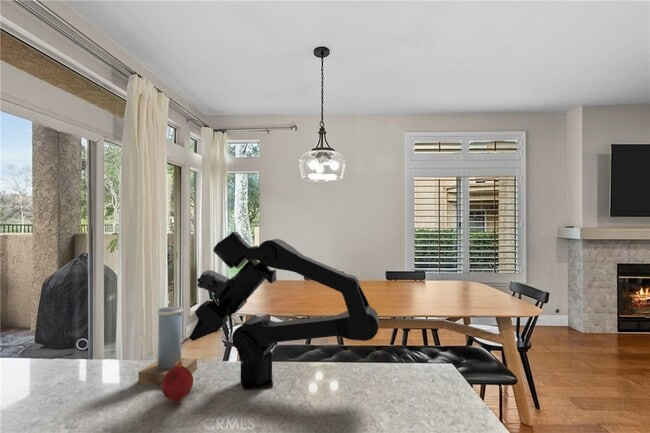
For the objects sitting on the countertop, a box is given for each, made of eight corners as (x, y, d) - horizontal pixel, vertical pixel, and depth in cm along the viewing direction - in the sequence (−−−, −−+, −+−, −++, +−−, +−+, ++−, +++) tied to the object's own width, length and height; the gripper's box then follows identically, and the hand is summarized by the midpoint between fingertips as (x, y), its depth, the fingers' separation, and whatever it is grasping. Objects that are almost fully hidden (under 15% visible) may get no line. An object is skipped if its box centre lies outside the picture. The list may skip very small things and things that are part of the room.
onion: (181, 411, 66) (181, 369, 66) (154, 408, 67) (155, 366, 68) (198, 396, 72) (198, 357, 72) (173, 393, 73) (173, 355, 73)
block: (196, 369, 85) (196, 359, 85) (175, 386, 76) (175, 374, 76) (162, 366, 87) (163, 356, 87) (138, 383, 78) (138, 372, 78)
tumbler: (185, 360, 84) (186, 306, 85) (176, 369, 79) (177, 312, 79) (162, 360, 84) (164, 306, 84) (152, 369, 79) (153, 312, 79)
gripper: (232, 252, 89) (192, 296, 90) (202, 266, 70) (152, 321, 71) (264, 282, 88) (223, 326, 89) (242, 304, 70) (191, 358, 71)
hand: (200, 331), depth 80 cm, fingers open, 9 cm apart
